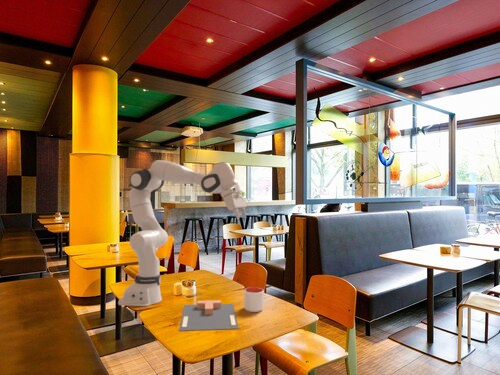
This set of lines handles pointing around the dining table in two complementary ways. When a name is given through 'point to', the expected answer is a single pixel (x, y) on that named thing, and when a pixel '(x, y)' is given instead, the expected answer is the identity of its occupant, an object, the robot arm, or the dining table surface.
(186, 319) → the mat
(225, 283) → the dining table surface
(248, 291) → the cup
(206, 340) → the dining table surface
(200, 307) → the t block
